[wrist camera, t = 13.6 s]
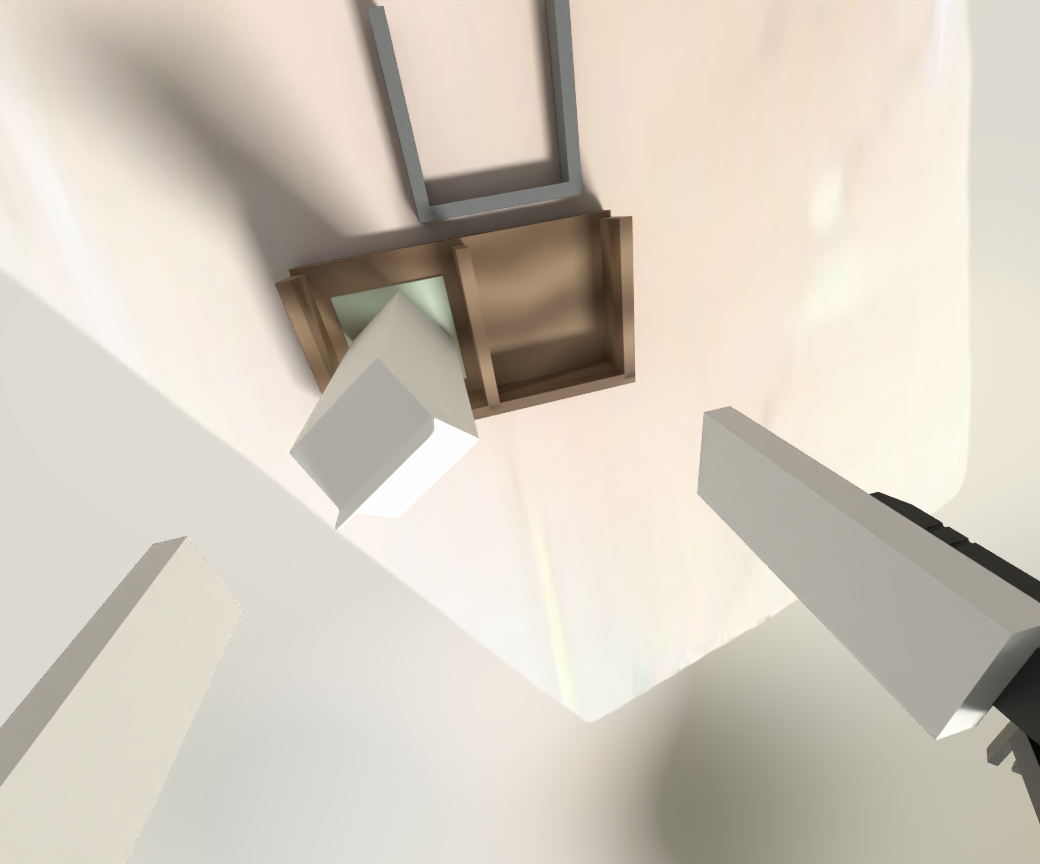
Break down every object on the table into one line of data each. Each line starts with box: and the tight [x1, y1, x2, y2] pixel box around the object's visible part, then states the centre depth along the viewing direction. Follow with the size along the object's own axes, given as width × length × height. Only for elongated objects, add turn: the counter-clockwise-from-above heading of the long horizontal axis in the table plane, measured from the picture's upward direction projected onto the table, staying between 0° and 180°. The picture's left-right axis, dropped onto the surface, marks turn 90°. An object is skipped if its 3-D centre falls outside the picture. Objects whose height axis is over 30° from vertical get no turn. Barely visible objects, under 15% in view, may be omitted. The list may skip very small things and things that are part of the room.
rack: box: [275, 210, 635, 420], centre depth 35 cm, size 14×26×6 cm, turn 99°
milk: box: [290, 290, 479, 530], centre depth 25 cm, size 6×6×22 cm
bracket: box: [367, 0, 582, 223], centre depth 30 cm, size 12×13×2 cm
